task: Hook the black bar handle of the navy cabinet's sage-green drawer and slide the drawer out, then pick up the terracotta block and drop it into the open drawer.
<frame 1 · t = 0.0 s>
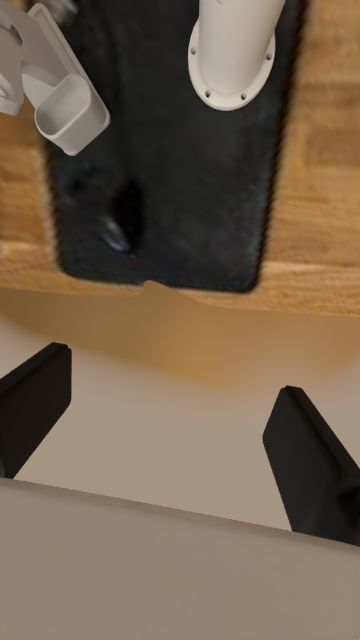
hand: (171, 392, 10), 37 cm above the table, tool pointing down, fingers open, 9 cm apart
phone holder: (59, 90, 37), on the table
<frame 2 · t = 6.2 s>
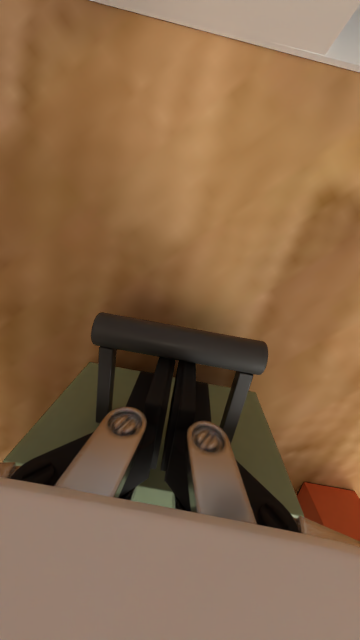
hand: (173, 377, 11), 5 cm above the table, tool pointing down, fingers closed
drawer: (155, 469, 13), point 5 cm above the table, slide at 2.2 cm
block: (319, 502, 20), on the table
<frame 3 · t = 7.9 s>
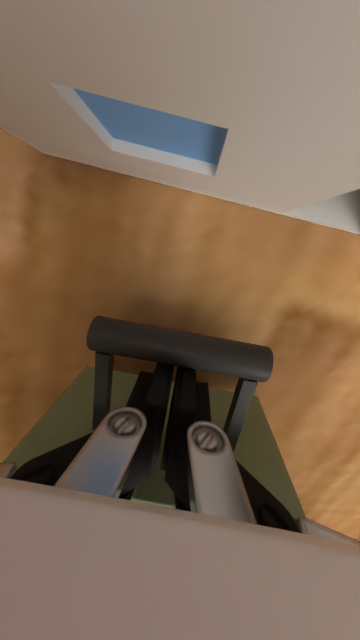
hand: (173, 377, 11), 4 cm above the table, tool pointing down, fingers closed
drawer: (155, 477, 13), point 5 cm above the table, slide at 8.8 cm
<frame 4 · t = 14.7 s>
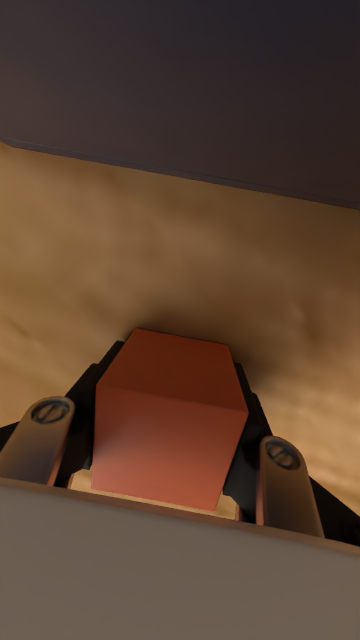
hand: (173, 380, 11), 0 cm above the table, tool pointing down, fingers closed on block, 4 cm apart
block: (174, 375, 11), on the table, touching gripper
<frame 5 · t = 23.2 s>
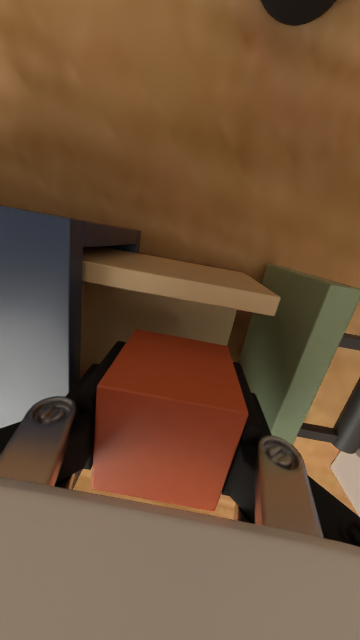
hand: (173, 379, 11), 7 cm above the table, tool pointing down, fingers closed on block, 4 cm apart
drawer: (209, 359, 13), point 5 cm above the table, slide at 8.8 cm
block: (174, 376, 11), point 7 cm above the table, touching gripper
cabinet: (40, 299, 18), on the table
when the fingers open (10 cm above the table, at t = 34.8 s): block drops 8 cm, resting on drawer.
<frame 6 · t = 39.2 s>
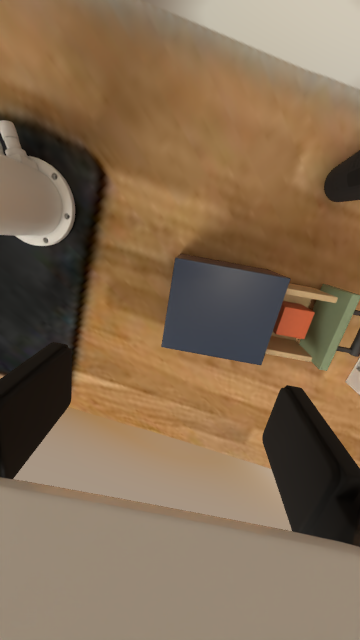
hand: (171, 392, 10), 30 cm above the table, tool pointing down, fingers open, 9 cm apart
drawer: (302, 321, 35), point 5 cm above the table, slide at 8.8 cm, touching block
block: (283, 314, 37), point 2 cm above the table, touching drawer
cabinet: (215, 298, 39), on the table
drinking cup: (341, 183, 33), on the table
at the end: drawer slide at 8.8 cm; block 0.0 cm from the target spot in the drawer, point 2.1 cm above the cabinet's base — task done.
